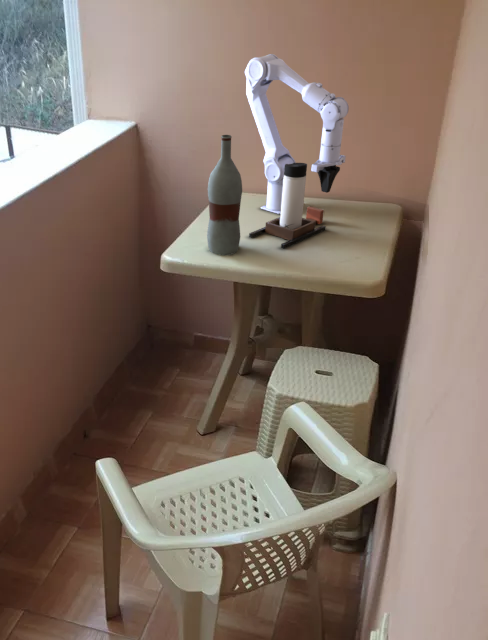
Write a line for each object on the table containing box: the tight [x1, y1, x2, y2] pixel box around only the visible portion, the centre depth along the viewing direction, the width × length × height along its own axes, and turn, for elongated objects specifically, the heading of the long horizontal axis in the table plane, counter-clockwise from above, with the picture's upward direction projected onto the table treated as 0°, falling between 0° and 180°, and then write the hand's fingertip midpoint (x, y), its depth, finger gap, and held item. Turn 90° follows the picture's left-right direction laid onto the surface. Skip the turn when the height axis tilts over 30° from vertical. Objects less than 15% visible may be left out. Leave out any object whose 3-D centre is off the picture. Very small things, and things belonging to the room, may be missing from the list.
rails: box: [248, 225, 327, 249], centre depth 191 cm, size 20×13×1 cm, turn 136°
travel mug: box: [279, 162, 308, 230], centre depth 186 cm, size 6×7×20 cm
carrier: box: [264, 205, 325, 241], centre depth 193 cm, size 18×10×4 cm, turn 136°
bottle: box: [206, 134, 243, 256], centre depth 173 cm, size 9×9×30 cm
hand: (325, 191), depth 197 cm, fingers closed
